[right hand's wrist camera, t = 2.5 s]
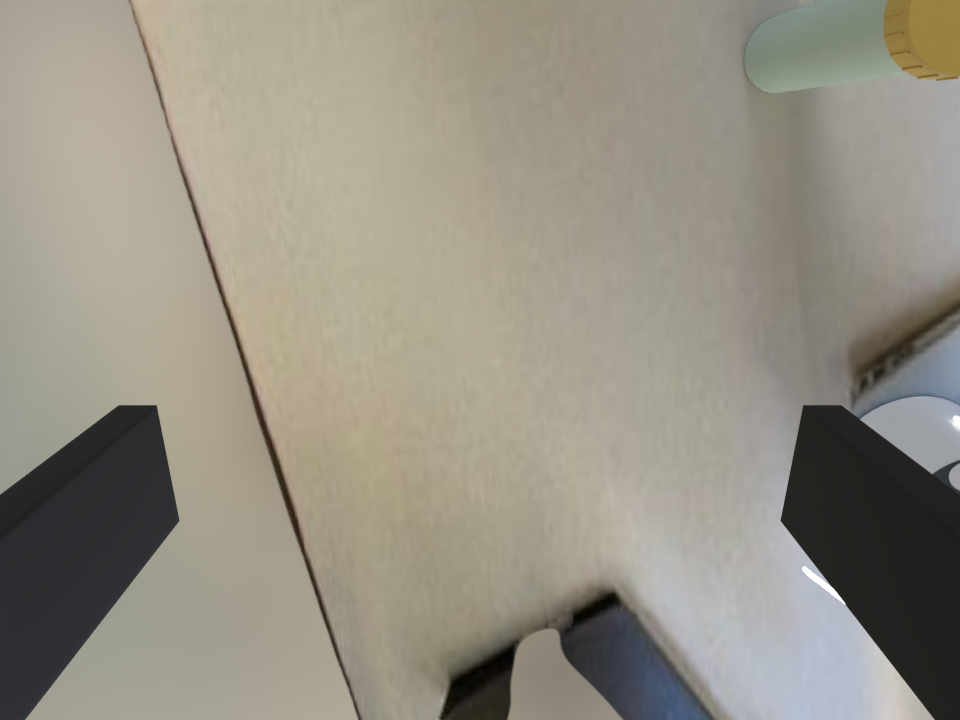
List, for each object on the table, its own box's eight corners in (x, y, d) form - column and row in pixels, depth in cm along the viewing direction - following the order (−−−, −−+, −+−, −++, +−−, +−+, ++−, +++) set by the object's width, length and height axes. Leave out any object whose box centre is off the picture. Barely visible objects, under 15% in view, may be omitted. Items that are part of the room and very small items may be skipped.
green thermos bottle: (799, -1, 46) (1013, -90, 27) (825, 67, 47) (1043, 26, 29) (732, 41, 47) (895, -18, 28) (760, 107, 48) (930, 91, 30)
